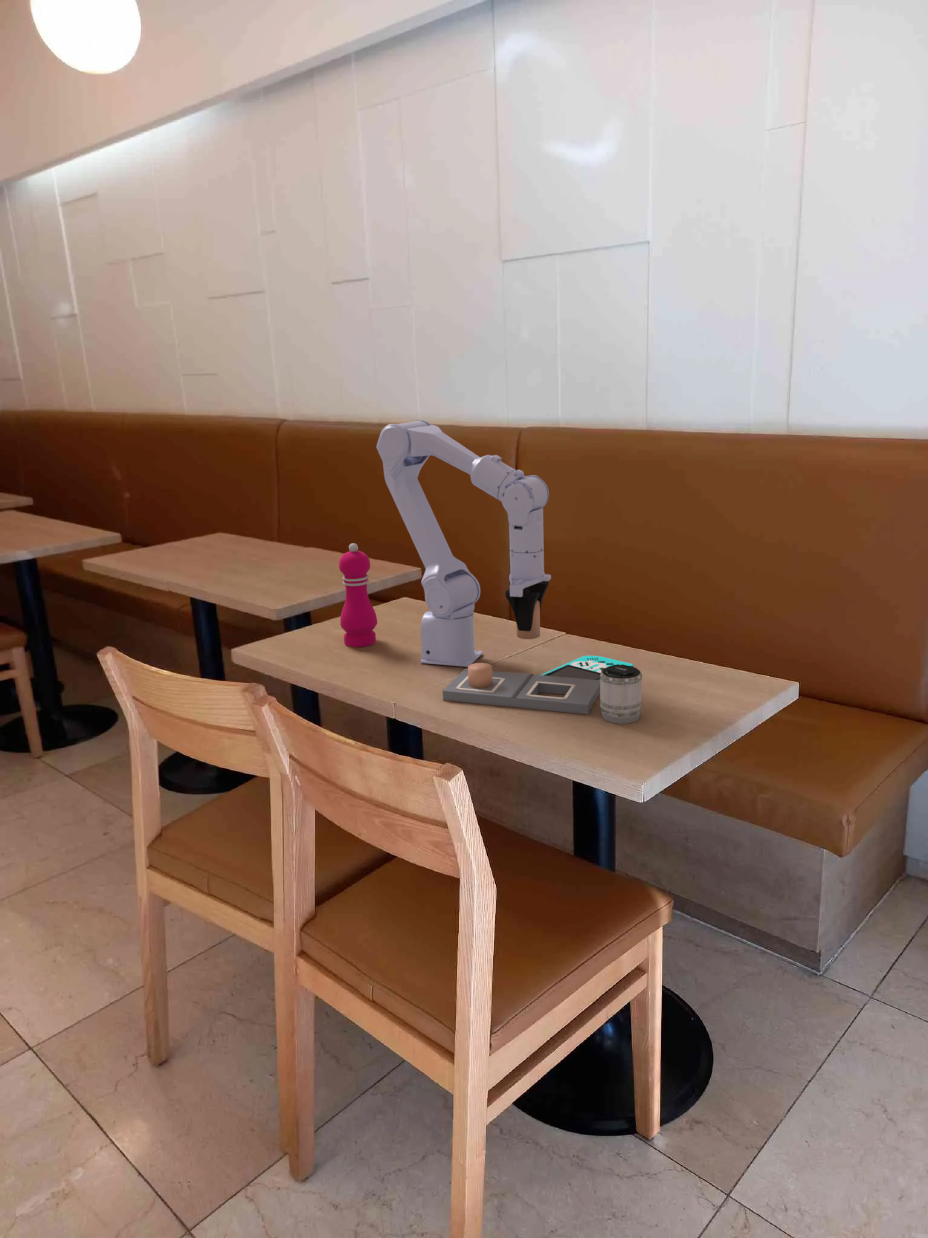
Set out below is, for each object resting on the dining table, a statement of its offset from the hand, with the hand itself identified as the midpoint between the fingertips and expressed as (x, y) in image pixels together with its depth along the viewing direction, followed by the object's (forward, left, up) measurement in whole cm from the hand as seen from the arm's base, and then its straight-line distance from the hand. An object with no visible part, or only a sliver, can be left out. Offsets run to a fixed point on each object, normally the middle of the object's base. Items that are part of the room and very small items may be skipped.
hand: (528, 626), depth 156 cm
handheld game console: (+10, +2, -9) cm, 14 cm away
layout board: (+2, -10, -9) cm, 14 cm away
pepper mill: (-37, +9, -9) cm, 39 cm away
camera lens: (+19, -15, -9) cm, 26 cm away
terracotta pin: (0, 0, -2) cm, 2 cm away
